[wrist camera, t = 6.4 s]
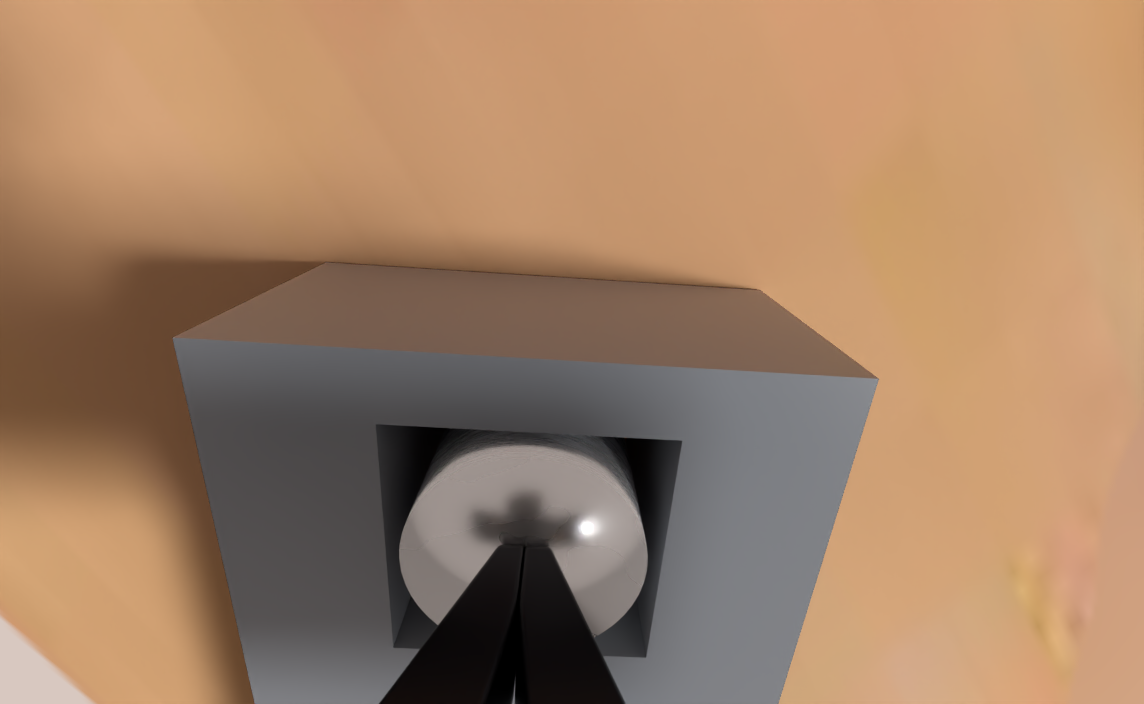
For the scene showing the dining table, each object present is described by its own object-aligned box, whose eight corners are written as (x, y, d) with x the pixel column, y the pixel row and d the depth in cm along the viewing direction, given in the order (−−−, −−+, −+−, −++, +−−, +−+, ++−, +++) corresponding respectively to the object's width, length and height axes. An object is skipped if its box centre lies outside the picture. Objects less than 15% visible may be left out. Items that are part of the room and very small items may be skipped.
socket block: (664, 759, 18) (697, 965, 14) (377, 749, 18) (312, 957, 13) (760, 289, 12) (879, 378, 8) (326, 262, 12) (172, 337, 7)
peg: (611, 493, 14) (633, 657, 9) (457, 485, 14) (405, 648, 9) (628, 350, 12) (663, 466, 8) (454, 340, 12) (392, 451, 8)
